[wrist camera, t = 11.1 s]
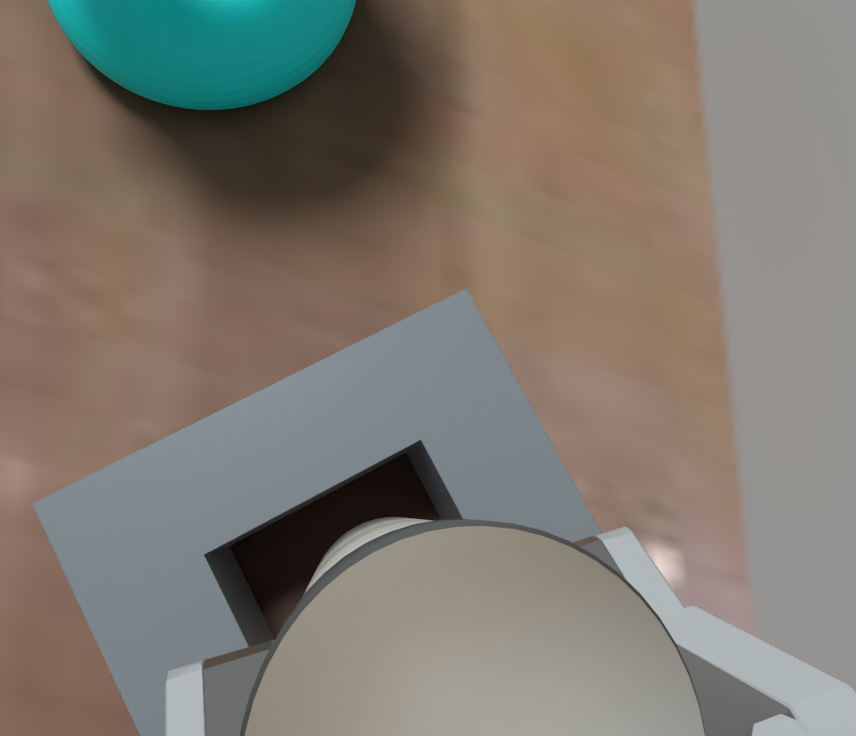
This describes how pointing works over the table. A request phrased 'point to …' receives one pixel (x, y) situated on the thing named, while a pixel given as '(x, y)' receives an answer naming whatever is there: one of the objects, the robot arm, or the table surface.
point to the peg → (470, 642)
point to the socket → (296, 488)
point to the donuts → (205, 45)
